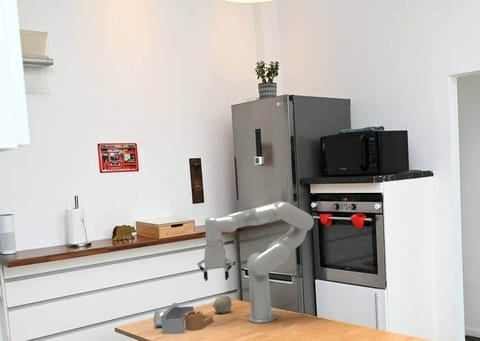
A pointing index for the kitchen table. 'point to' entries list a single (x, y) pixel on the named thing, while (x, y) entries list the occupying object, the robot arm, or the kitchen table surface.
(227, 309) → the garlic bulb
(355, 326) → the kitchen table surface
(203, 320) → the bracket
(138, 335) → the kitchen table surface
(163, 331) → the steel u-channel
